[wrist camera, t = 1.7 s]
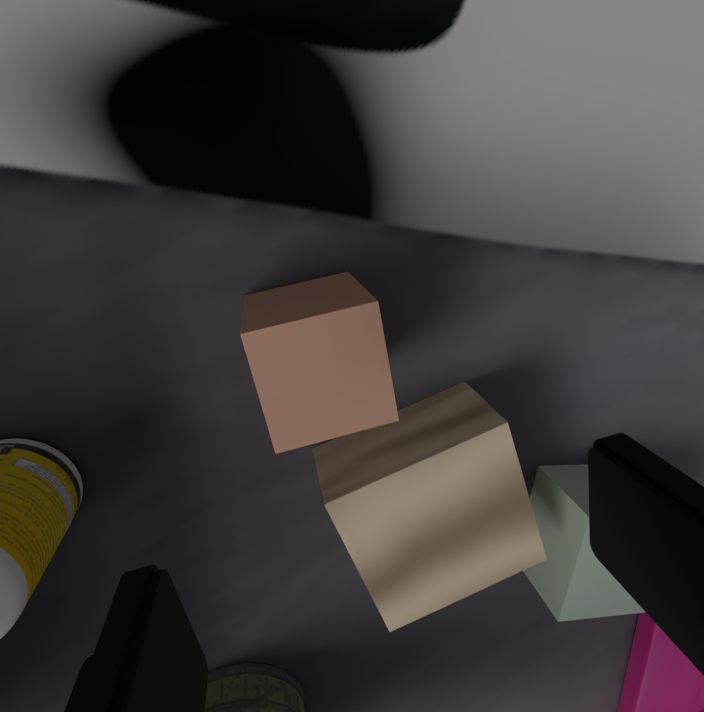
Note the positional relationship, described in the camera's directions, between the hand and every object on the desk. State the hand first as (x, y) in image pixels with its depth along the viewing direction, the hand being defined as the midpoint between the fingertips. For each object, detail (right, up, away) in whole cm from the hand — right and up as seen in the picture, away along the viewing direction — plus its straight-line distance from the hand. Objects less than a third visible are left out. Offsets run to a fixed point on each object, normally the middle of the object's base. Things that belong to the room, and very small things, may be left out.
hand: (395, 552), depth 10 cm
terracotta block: (-3, +5, +13) cm, 15 cm away
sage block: (+13, -6, +21) cm, 25 cm away
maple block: (+3, -3, +18) cm, 18 cm away
